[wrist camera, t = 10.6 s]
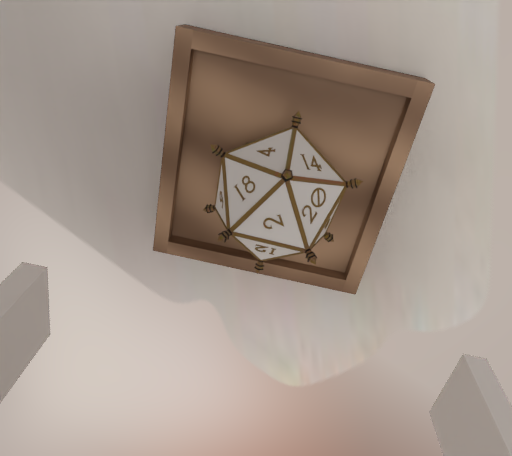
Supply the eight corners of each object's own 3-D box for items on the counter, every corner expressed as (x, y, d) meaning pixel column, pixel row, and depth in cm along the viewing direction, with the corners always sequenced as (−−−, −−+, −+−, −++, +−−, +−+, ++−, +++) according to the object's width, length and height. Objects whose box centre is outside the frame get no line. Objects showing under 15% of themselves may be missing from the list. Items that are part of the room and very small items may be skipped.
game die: (276, 129, 31) (298, 52, 21) (356, 218, 31) (417, 180, 21) (180, 208, 30) (156, 164, 20) (261, 302, 29) (277, 305, 19)
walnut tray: (184, 24, 26) (175, 26, 24) (425, 78, 27) (435, 84, 25) (161, 235, 33) (153, 250, 31) (352, 277, 34) (355, 294, 32)
